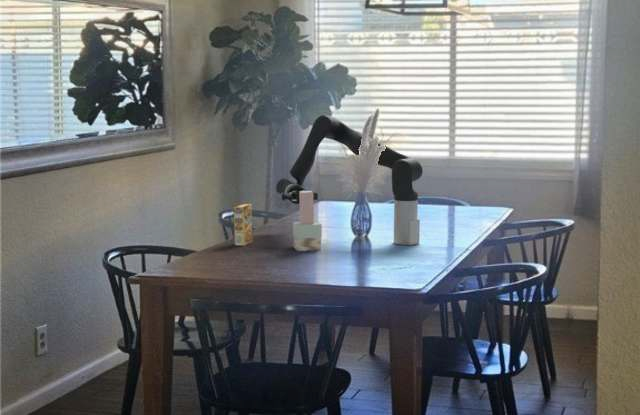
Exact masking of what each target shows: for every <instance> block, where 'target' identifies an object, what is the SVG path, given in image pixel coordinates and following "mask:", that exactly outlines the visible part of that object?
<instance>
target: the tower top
mask: <svg viewBox="0 0 640 415" xmlns="http://www.w3.org/2000/svg"><path fill="white" fill-rule="evenodd" d="M322 227H323V226H322V224H321V223H320V222H318V221H316V220H314V224H301V223H300V221H293V222H292V236H293V237H294V236H295V237H297V238H298V239H300V238H321V239H322V233H323V232H322V231H323V229H322Z"/></svg>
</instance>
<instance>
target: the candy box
mask: <svg viewBox="0 0 640 415" xmlns="http://www.w3.org/2000/svg"><path fill="white" fill-rule="evenodd" d="M252 210H253V209H252V204H251V203H242V204H239V205H235V206H234V207H233V217H234V218H233V219H234V220H233V223H234V224H233V225H234V246H242V247H243V246H246V245H248V244H253V221H252V220H253V219H252V218H253V216H252V215H253V214H252V212H253V211H252Z"/></svg>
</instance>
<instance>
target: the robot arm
mask: <svg viewBox="0 0 640 415" xmlns="http://www.w3.org/2000/svg"><path fill="white" fill-rule="evenodd" d="M362 134H364V133H363V132H360V131H358V130H355V129H353V128H351V127H349V126H348V125H347V124H345V123H344V122H342V121H341V120H340V119H338V118H336V117H334V116H330V115H327V114H323V115H319V116H318V117H317V118H316V119H315V121H314V122H313V125H312V126H311V128H310V131H309V134H308V137H307V138H306V141H305V143H304V145H303V148H302V150H301V151H300V154H299V155H298V157H297V159H296V160H295V162H294V164H293V165H292V167H291V168H290V171H289V174H290V175H291V177H293V178H294V180H295V181H296V182H294V181H292V180H290V179H288V178H285V177H283V178H280V179H279V180H278V181H277V183H276V186H275V190H276V192H277V194H279V195H280V200H281V201H283V202H284V201H287V202H290V203H291V204H294V205H300V199H299V191H306V190H305V188H304V187H303V185H304V182H305V179H306V178H307V176H308V174H309V173H310V171H311V170H312V168H313V166H314V163H315V160H316V159H315V158H316V154H317V151H318V149H319V146H320V144H321V142H322V141H323V140H324V139H327V140H332V141H335V142H338V143H340V144H341V145H344V146H345V147H346V148H348V150H350V152H352V153H353V154H354V155H355V156H357V155H359V150H358V149H359V147H360V145H361V139H362ZM381 143H382V142H380V141H379V142H378V146H380V145H381ZM384 145H385V147H386V149H385V151H382V152H381V155H380V157H379V161H378V166H380V167H385V168H389V169H390V170H391V190H392V194H393V199H394V200H393V244H395V245H400V246H402V245H404V246H405V245H407V246H412V245H418V244H420V229H421V228H420V227H421V225H420V224H421V222H420V219H419V218H418V212H419V210H418V208H419V206H418V203H419V201H418V200H419V194H418V192H417V191H415V190H414V188H413V182H416V181H417V180H419V179H420V178H421V177H422V176H423V167H422V164H421V163H420V162H419V161H418V160H417V159H416V158H413V157H410V156H408V155H405V154H403V153H400V152H398V151H396V150H394V149H393V148H391V147H389V146H387V145H386V144H384ZM312 192H313V202H314V201H317V200H319V199H318V198H319V197H318V196H319V194H318V193H317V192H315V191H312Z"/></svg>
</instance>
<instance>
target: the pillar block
mask: <svg viewBox="0 0 640 415" xmlns="http://www.w3.org/2000/svg"><path fill="white" fill-rule="evenodd" d="M313 192H314V191H312V190H305V191H299V199H300V204H299V222H300V223H301V224H314V221H315V219H314V218H315V216H314V215H315V214H314V213H315V211H314V201H313Z"/></svg>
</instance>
